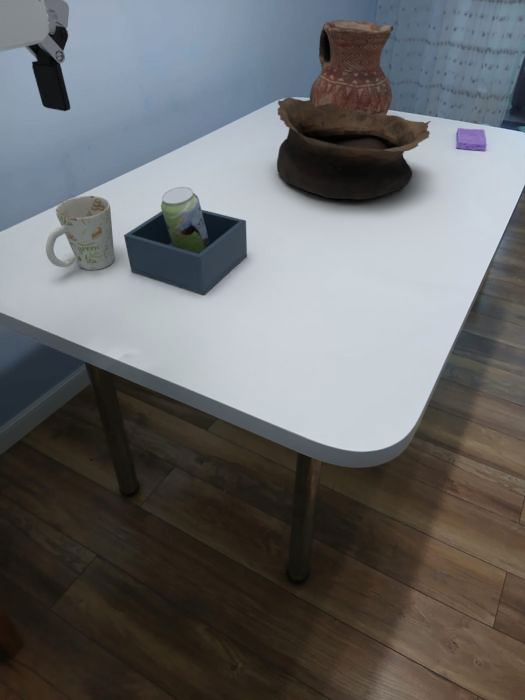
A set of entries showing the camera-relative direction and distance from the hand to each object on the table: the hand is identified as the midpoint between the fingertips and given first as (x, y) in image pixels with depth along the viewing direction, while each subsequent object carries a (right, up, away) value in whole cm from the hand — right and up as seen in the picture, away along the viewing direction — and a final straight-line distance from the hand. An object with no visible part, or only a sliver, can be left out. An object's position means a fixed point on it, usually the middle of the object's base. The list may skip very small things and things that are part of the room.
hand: (17, 122), depth 46 cm
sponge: (+78, +34, +85) cm, 120 cm away
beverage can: (+10, -6, +39) cm, 40 cm away
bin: (+10, -6, +39) cm, 41 cm away
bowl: (+41, +17, +66) cm, 80 cm away
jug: (+47, +42, +94) cm, 113 cm away
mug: (-7, -7, +38) cm, 40 cm away
